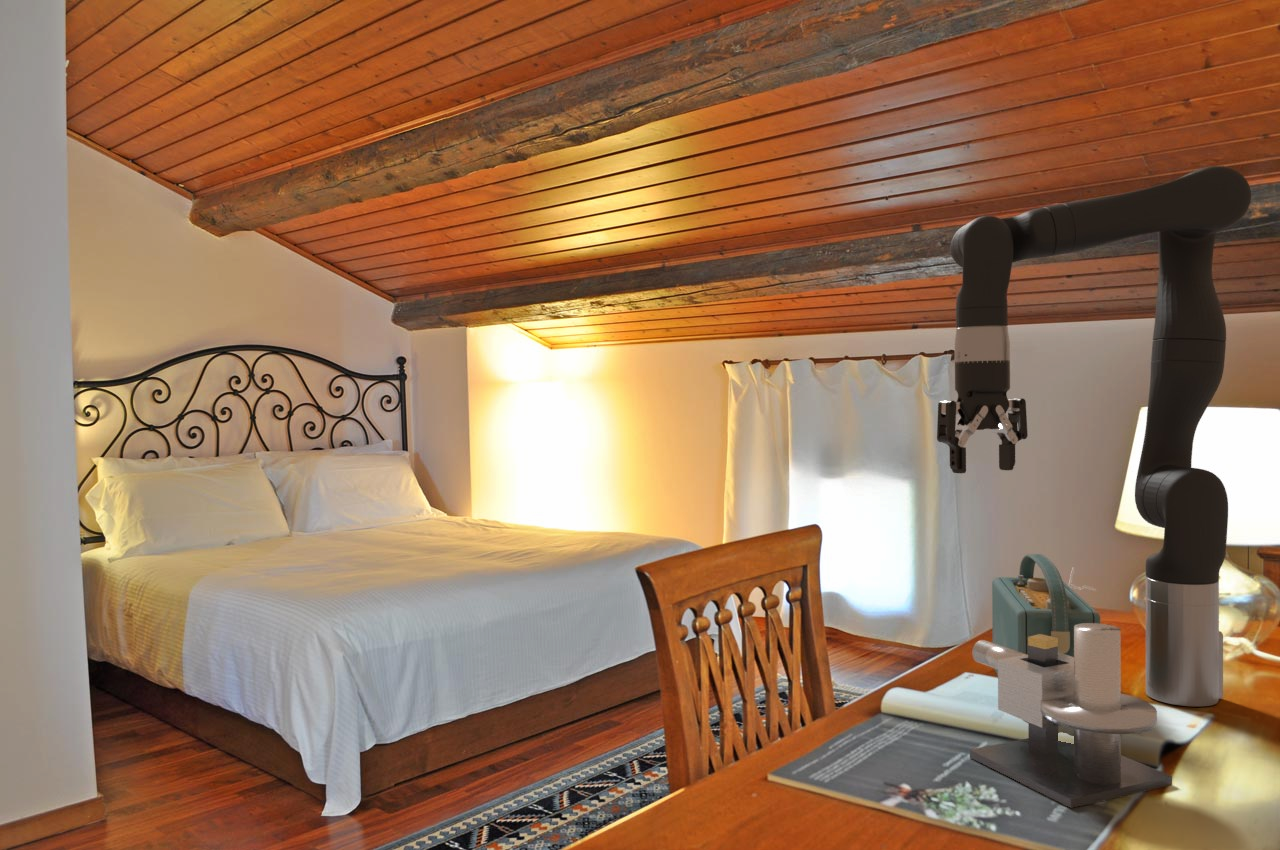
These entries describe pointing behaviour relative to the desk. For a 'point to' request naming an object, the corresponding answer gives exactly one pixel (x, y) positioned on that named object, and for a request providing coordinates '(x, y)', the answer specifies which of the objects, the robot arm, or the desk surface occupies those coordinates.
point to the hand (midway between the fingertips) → (983, 471)
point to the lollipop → (1077, 586)
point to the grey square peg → (1043, 655)
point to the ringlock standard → (1072, 720)
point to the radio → (1037, 607)
